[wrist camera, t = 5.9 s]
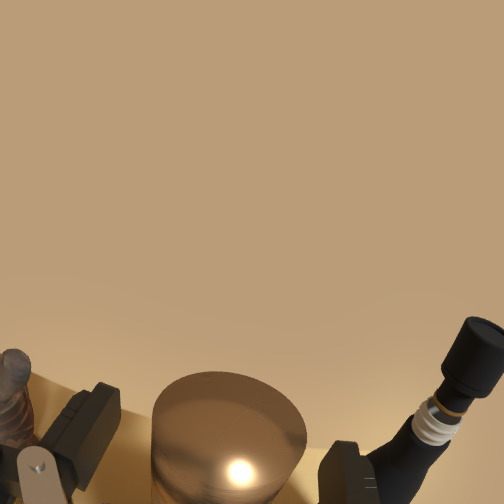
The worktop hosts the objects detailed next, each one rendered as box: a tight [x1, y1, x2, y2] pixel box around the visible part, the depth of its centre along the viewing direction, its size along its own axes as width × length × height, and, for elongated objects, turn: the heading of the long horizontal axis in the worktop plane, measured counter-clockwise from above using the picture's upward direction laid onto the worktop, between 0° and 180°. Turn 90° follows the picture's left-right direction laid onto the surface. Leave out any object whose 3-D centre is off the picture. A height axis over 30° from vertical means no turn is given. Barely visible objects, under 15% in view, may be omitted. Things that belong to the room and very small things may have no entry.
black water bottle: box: [318, 316, 504, 504], centre depth 18 cm, size 6×6×30 cm
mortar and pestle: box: [0, 349, 39, 449], centre depth 21 cm, size 12×9×20 cm
